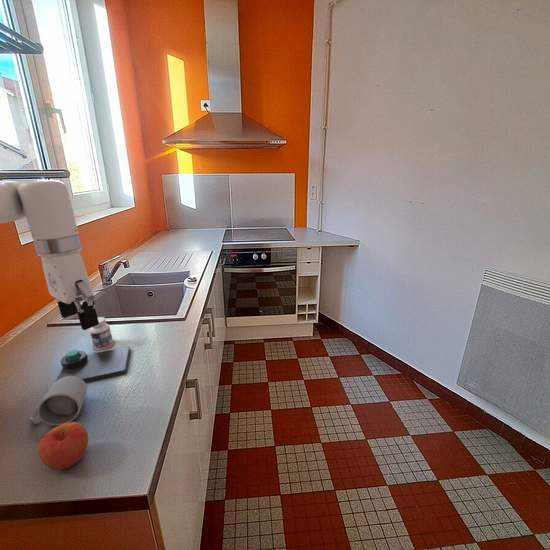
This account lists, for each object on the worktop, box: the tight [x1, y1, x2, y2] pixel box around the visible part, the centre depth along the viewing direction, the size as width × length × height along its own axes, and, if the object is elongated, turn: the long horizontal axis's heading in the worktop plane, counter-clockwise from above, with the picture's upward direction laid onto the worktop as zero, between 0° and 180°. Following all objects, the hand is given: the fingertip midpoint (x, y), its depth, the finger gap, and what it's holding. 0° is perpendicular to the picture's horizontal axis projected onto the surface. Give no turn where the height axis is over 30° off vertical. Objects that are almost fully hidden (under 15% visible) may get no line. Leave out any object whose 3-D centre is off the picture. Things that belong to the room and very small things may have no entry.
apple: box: [38, 421, 89, 471], centre depth 55 cm, size 7×7×8 cm
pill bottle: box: [89, 316, 114, 351], centre depth 92 cm, size 5×5×9 cm
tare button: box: [65, 349, 80, 361], centre depth 82 cm, size 3×3×2 cm
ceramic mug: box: [29, 376, 88, 426], centre depth 66 cm, size 11×8×8 cm
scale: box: [55, 346, 131, 384], centre depth 82 cm, size 16×12×3 cm
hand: (80, 321), depth 66 cm, fingers open, 9 cm apart
